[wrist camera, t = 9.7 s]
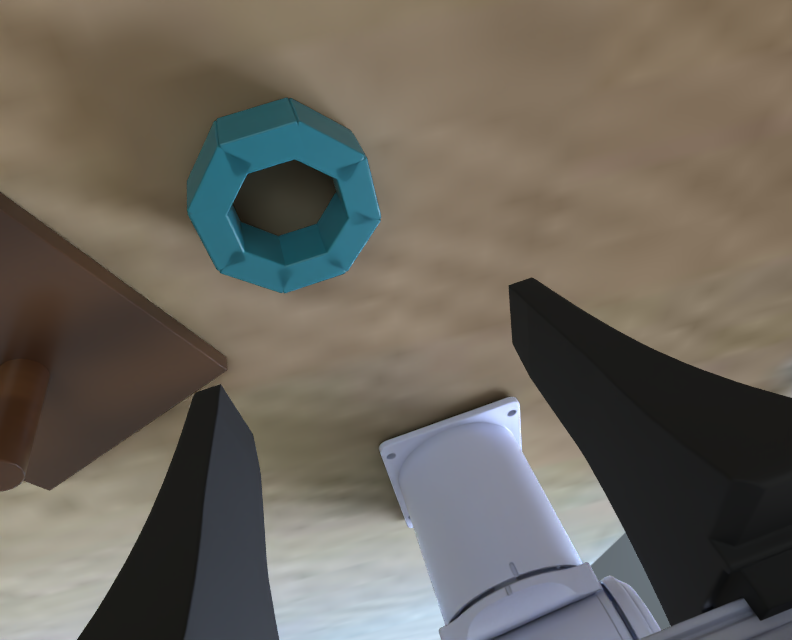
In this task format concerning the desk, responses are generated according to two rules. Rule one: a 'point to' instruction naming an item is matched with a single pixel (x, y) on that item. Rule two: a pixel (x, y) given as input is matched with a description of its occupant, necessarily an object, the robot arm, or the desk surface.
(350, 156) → the ring
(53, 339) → the ring toss
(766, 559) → the robot arm
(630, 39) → the desk surface
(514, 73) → the desk surface
